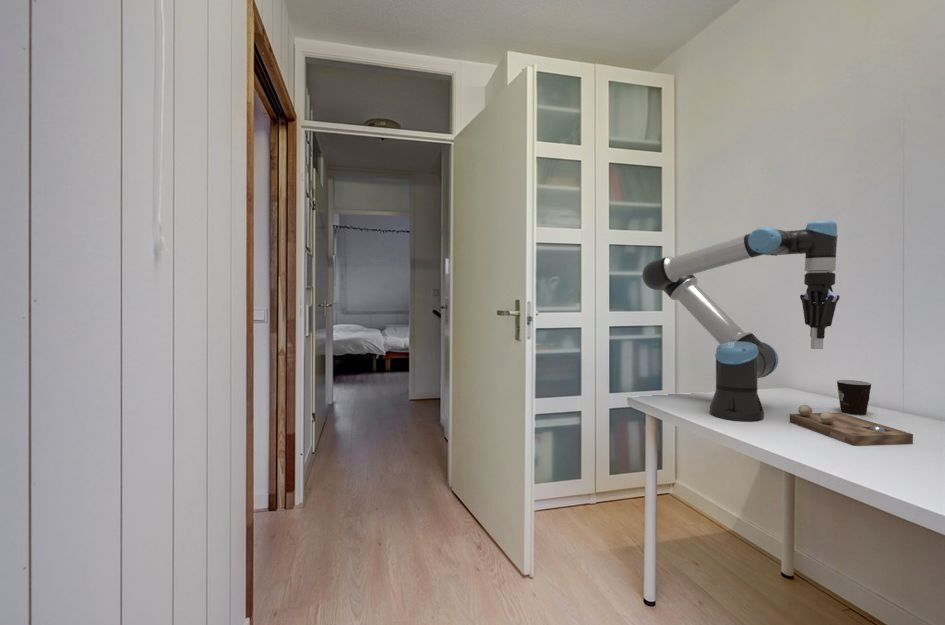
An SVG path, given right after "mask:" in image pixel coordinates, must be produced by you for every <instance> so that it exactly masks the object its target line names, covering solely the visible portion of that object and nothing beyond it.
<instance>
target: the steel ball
mask: <svg viewBox="0 0 945 625" xmlns="http://www.w3.org/2000/svg"><path fill="white" fill-rule="evenodd" d="M869 430H872V431H875V432H886V431H885V430H884V428H882V427H880V426H872V427H871V428H870V429H869Z"/></svg>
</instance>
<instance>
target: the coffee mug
mask: <svg viewBox="0 0 945 625" xmlns="http://www.w3.org/2000/svg"><path fill="white" fill-rule="evenodd" d="M836 384H837V390H838V398H839V400H838V401H839V406H840V407H839V408H840V409H839V410H840V413H843V414H846V413H847V415H851V416H866V415H867V411H868V407H869V400H870V396H871V395H870V394H871V388H872V383H871V382H868V381H862V380H854V379H853V380H852V379H837V380H836Z"/></svg>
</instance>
